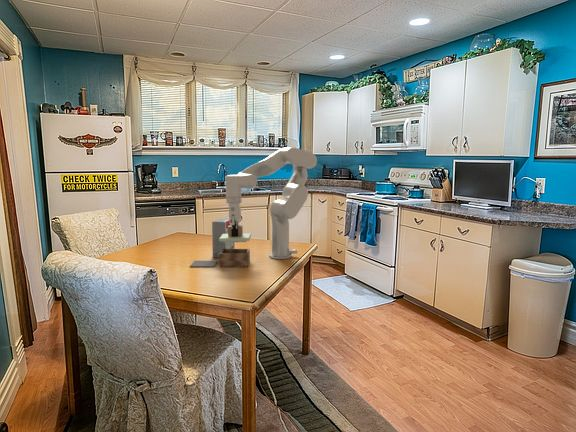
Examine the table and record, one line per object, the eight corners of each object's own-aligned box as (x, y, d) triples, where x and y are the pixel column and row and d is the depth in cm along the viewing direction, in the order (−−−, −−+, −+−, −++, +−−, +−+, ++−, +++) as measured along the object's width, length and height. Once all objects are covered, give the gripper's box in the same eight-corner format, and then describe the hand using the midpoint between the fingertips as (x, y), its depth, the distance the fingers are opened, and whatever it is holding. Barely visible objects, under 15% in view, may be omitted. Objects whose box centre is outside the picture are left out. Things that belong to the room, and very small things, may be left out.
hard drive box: (225, 258, 200) (224, 222, 196) (212, 257, 201) (211, 221, 198) (235, 251, 215) (234, 217, 211) (222, 250, 216) (221, 217, 213)
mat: (217, 261, 193) (217, 260, 193) (213, 267, 183) (213, 266, 183) (194, 261, 193) (194, 260, 193) (189, 267, 183) (189, 266, 183)
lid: (251, 237, 192) (250, 223, 190) (249, 242, 181) (248, 227, 180) (223, 238, 192) (222, 224, 190) (219, 243, 181) (218, 228, 180)
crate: (249, 261, 193) (249, 248, 192) (247, 267, 183) (247, 253, 182) (223, 261, 193) (222, 248, 192) (219, 267, 183) (219, 253, 182)
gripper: (239, 201, 175) (241, 239, 178) (243, 197, 191) (244, 232, 194) (223, 202, 175) (225, 239, 178) (228, 197, 191) (230, 232, 194)
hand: (235, 235), depth 186 cm, fingers closed on lid, 3 cm apart
